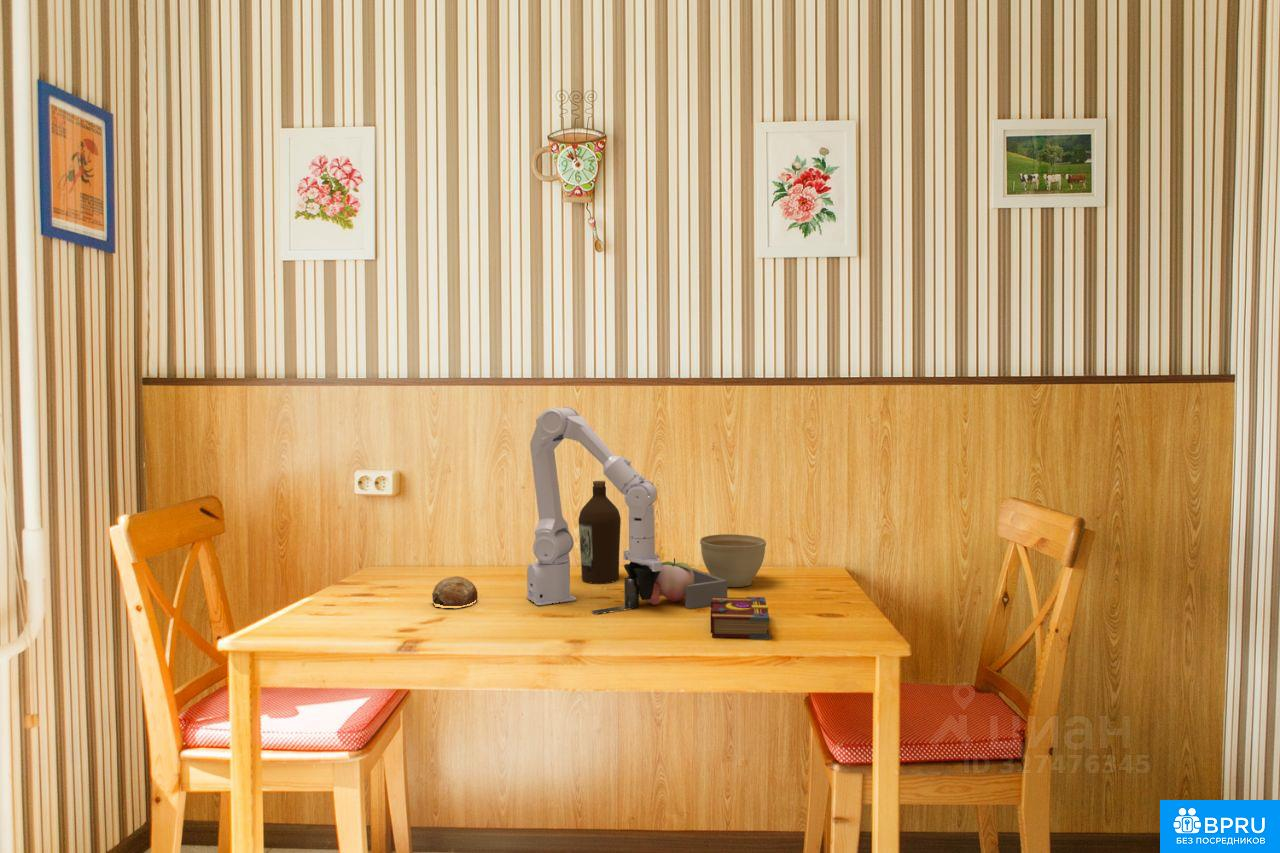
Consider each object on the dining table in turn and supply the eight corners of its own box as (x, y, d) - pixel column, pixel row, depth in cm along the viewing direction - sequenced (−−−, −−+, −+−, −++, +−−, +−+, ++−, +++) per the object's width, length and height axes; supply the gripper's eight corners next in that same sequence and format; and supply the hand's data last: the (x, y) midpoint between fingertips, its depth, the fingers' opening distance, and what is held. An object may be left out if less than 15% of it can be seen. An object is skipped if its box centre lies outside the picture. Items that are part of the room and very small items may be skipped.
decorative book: (710, 639, 149) (710, 613, 149) (711, 615, 165) (711, 592, 165) (770, 640, 148) (770, 615, 148) (765, 616, 164) (765, 593, 164)
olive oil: (610, 572, 204) (609, 478, 203) (628, 581, 195) (627, 482, 194) (572, 577, 199) (571, 480, 198) (589, 586, 190) (588, 484, 189)
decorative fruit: (700, 599, 177) (700, 555, 177) (688, 608, 170) (688, 563, 169) (661, 595, 181) (661, 552, 181) (649, 604, 173) (648, 559, 173)
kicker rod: (628, 608, 169) (628, 580, 168) (621, 604, 172) (621, 577, 172) (659, 603, 172) (659, 576, 172) (651, 599, 175) (651, 573, 175)
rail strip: (595, 614, 166) (595, 613, 166) (590, 612, 168) (590, 610, 168) (632, 609, 170) (632, 607, 170) (627, 606, 172) (627, 605, 172)
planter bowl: (745, 595, 180) (745, 548, 180) (687, 585, 190) (687, 541, 190) (777, 581, 193) (777, 538, 193) (722, 572, 203) (721, 531, 203)
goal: (688, 609, 169) (688, 586, 169) (656, 594, 182) (656, 573, 182) (727, 602, 174) (727, 580, 174) (693, 588, 187) (693, 568, 186)
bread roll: (429, 620, 176) (417, 592, 172) (456, 591, 184) (445, 564, 180) (463, 625, 171) (452, 597, 168) (489, 596, 179) (479, 568, 176)
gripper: (673, 540, 167) (674, 602, 167) (642, 529, 180) (643, 587, 180) (644, 543, 164) (645, 607, 164) (615, 532, 176) (615, 591, 177)
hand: (642, 597), depth 172 cm, fingers closed on kicker rod, 3 cm apart
